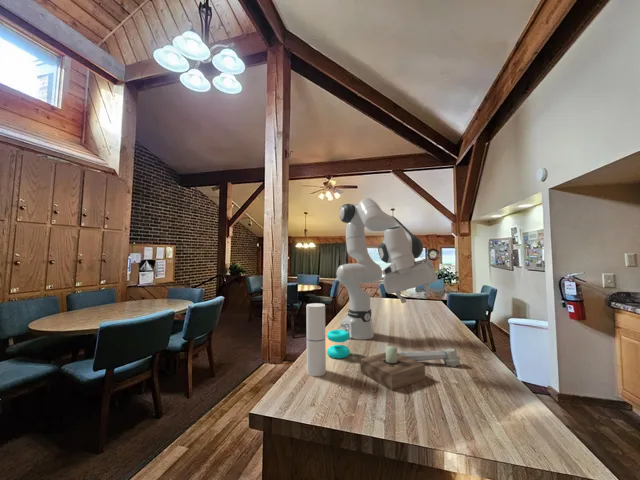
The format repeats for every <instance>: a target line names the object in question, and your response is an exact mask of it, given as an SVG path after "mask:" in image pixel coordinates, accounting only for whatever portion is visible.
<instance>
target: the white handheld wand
mask: <svg viewBox="0 0 640 480" xmlns="http://www.w3.org/2000/svg"><path fill="white" fill-rule="evenodd" d="M397 353H398V354H400V355H403V356H405V357H408V358H410V359H412V360H415V361H417V362H422V361H423V362H424V361H435V360H437V361H438V360H443V362H444V365H445V366H447V367H452V368H455V367H457V366H458V367H459V366H460V365H461V357H460V356H459V355H458V354H457V350H455V348H446V349H444V350H423V351H422V350H420V351H419V350H417V351H415V350H414V351H412V350H411V351H403V350H401V351H397Z"/></svg>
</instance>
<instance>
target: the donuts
mask: <svg viewBox="0 0 640 480" xmlns="http://www.w3.org/2000/svg"><path fill="white" fill-rule="evenodd" d="M326 337H327V338H326V339H328V340H329V341H330V342H332V343H333V342H334V343H344V342H347V341H348V340H349V337H350V335H349V333H348V332H347V331H344V330H337V329H332V330H329V331H328V332H327V334H326ZM326 350H327V351H326V353H327V355H328V356H329V357H330V358H333V359H345V358H348V357H349V356H350V355H351V351H350V349H349V348H348V346H346V345H344V344H333V345H331V346H329V347H328V348H327V349H326Z"/></svg>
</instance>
